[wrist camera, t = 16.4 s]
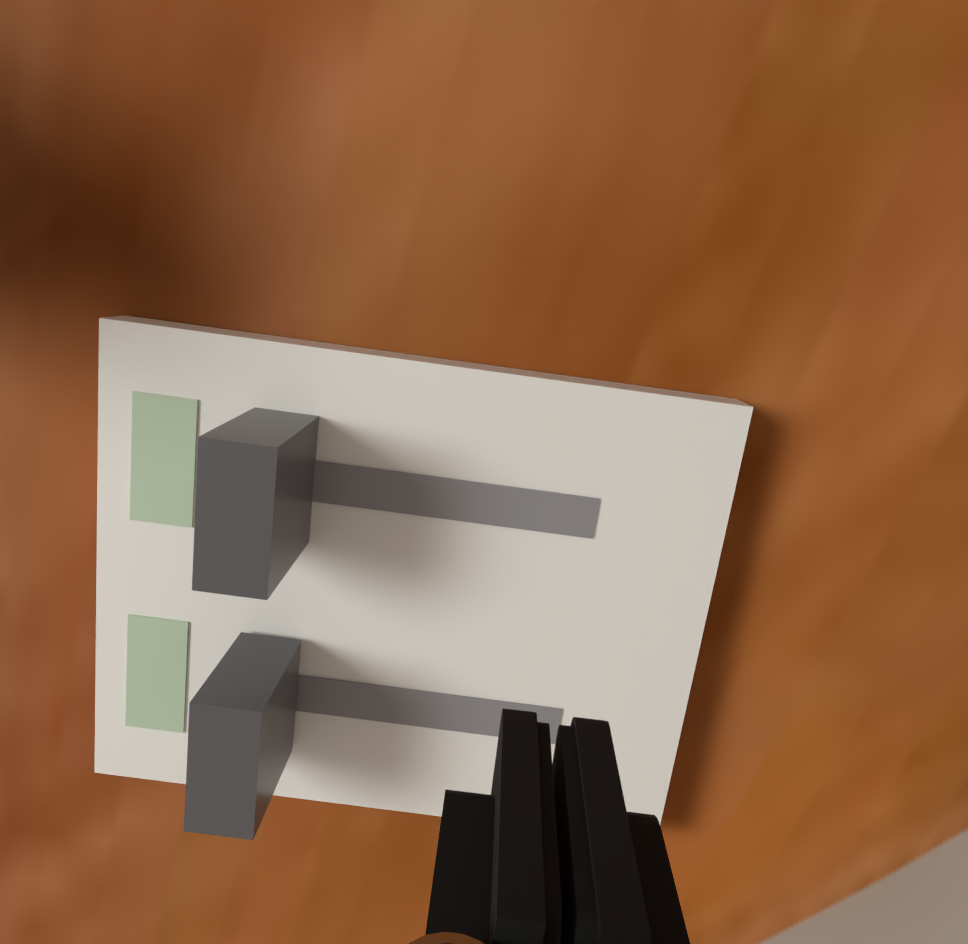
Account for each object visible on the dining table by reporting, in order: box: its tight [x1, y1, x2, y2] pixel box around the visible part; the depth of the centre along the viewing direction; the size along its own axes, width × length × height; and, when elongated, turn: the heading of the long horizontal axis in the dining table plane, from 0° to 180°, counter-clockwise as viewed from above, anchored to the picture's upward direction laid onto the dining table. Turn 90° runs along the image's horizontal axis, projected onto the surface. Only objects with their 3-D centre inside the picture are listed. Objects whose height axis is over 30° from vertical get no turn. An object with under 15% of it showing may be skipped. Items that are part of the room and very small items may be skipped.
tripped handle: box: [184, 632, 301, 840], centre depth 28 cm, size 2×5×5 cm, turn 173°
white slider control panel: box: [95, 315, 753, 824], centre depth 28 cm, size 24×19×8 cm
